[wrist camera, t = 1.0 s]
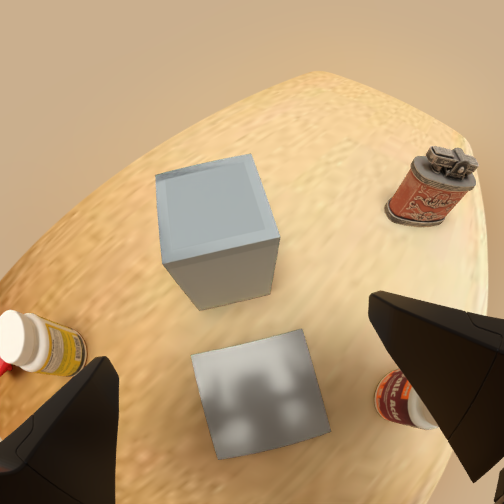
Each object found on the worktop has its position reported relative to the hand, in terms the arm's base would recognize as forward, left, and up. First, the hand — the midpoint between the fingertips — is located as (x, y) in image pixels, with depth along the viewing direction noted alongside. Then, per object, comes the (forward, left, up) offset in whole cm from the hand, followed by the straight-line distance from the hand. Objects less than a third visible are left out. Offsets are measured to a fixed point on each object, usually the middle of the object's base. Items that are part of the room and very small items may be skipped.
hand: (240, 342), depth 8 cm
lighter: (+7, -22, -14) cm, 27 cm away
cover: (+8, -1, -13) cm, 16 cm away
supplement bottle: (+5, +16, -14) cm, 22 cm away
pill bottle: (-8, -10, -14) cm, 19 cm away
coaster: (-3, 0, -13) cm, 14 cm away
